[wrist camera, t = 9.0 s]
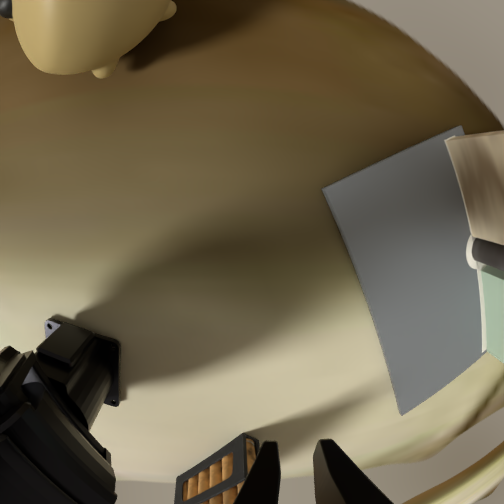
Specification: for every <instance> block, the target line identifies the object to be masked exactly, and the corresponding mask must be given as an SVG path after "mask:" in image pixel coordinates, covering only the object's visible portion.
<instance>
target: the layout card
mask: <svg viewBox="0 0 504 504" xmlns="http://www.w3.org/2000/svg"><path fill="white" fill-rule="evenodd" d="M464 135H465V134H464V131H463V129H462V126H457V127H454V128H452V129H450V130H447V131H445V132H443V133H441V134H438V135H436V136H434V137H431V138H429V139H427V140H425V141H423V142H420V143H418V144H416V145H414V146H411V147H409V148H407V149H405V150H403V151H400V152H398V153H396V154H394V155H392V156H390V157H387V158H385V159H383V160H381V161H379V162H377V163H374V164H372V165H370V166H368V167H366V168H364V169H362V170H360V171H357V172H355V173H353V174H351V175H349V176H347V177H345V178H343V179H341V180H338V181H336V182H334V183H332V184H330V185H328V186H326V187H324V188H322V191H323V194H324V196H325V198H326V200H327V203H328V205H329V207H330V209H331V212H332V214H333V216H334V219H335V221H336V223H337V226H338V228H339V231H340V233H341V235H342V238H343V240H344V243H345V245H346V248H347V250H348V253H349V255H350V258H351V260H352V263H353V266H354V268H355V271H356V274H357V276H358V279H359V282H360V284H361V287H362V290H363V293H364V296H365V298H366V301H367V304H368V307H369V310H370V313H371V316H372V319H373V322H374V325H375V328H376V331H377V334H378V337H379V341H380V344H381V347H382V350H383V354H384V357H385V360H386V364H387V367H388V371H389V374H390V378H391V382H392V385H393V389H394V393H395V397H396V401H397V405H398V409H399V413H400V414H401V416H402V415H404V414H405V413H407V412H409V411H410V410H412V409H413V408H415V407H416V406H418V405H419V404H421V403H422V402H424V401H425V400H427V399H428V398H429V397H431V396H432V395H434V394H435V393H436V392H438V391H439V390H441V389H442V388H443V387H445V386H446V385H447V384H449V383H450V382H451V381H452V380H454V379H455V378H456V377H458V376H459V375H460V374H461V373H463V372H464V371H465V370H466V369H467V368H469V367H470V366H471V365H472V364H473V363H474V362H476V361H477V360H478V359H479V358H480V357H481V356H482V355H484V354H485V353H486V352H487V341H486V316H485V302H484V292H483V283H482V275H481V270H482V269H483V268H484V267H486V266H487V265H486V264H483V263H481V262H478V261H475V260H474V259H473V257H472V245H473V242H474V240H475V239H476V237H473V236H472V231H471V226H470V221H469V217H468V212H467V208H466V204H465V200H464V196H463V193H462V189H461V186H460V182H459V179H458V175H457V172H456V169H455V166H454V163H453V160H452V157H451V154H450V151H449V148H448V145H447V143H446V141H447V140H449V139H451V138H453V137H457V136H464Z"/></svg>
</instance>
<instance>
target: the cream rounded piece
mask: <svg viewBox="0 0 504 504" xmlns="http://www.w3.org/2000/svg"><path fill="white" fill-rule="evenodd" d="M175 12H176V4H175V3H174V2H173V1H171V0H0V15H1V16H2V17H4V18H8V19H9V20H11V21H14V25H15V29H16V33H17V36H18V39H19V42H20V44H21V46H22V49H23V50H24V52H25V54H26V56H27V57H28V59H29V60H30V61H31V63H32V64H33V65H34V66H35V67H36V68H38V69H39V70H41V71H43V72H46V73H51V74H60V75H68V74H78V73H83V72H88V71H92V72H93V74H94V75H95V76H96V77H97V78H106V77H108V76H110V75H111V74H112V73H113V72H114V70H115V68H116V66H117V63H118V60H119V58H120V57H121V56H123V55H124V54H126V53H127V52H128V51H130V50H131V49H132V48H134V47H135V46H136V45H137V44H139V43H140V42H141V41H142V40H143V39H144V38H145V37H146V36H147V35H148V34H149V33H150V32H151V31H152V30H153V28H154V27H155V26H156V25H157V23H158V22H160V21H164V20H167V19H169V18H171V17H172V16H173V15H174V14H175Z"/></svg>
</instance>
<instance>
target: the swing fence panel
mask: <svg viewBox="0 0 504 504" xmlns="http://www.w3.org/2000/svg"><path fill="white" fill-rule="evenodd" d="M481 275H482V283H483V292H484V302H485V316H486V341H487V352H489V353H490V354H491V355H493V356H494V357H495V358H497V359H498V360H500V361H501V362H502V363H504V271H502V270H499V269H497V268H494V267H491V266H489V265H487V266H486V267H484V268H483V269H482V270H481Z"/></svg>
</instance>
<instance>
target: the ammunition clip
mask: <svg viewBox="0 0 504 504" xmlns="http://www.w3.org/2000/svg"><path fill="white" fill-rule="evenodd" d="M259 450H260V448H259V440H257V439H254V438H252V437H250V436H248V435H246V434H244V433H242V434H240V435H239V436H238V437H236V438H235V439H234V440H232V441H231V442H230V443H228V444H227V445H225V446H224V447H223V448H221V449H220V450H218V451H217V452H215V453H214V454H212V455H211V456H209V457H208V458H206V459H205V460H203V461H202V462H200V463H199V464H197V465H196V466H194V467H193V468H191V469H190V470H188V471H186V472H185V473H183V474H181V475H180V476H178V477H177V479H176V490H175V500H174V504H233V502H234V500H235V498H236V497H237V495H238V493H239V491H240V489H241V487H242V485H243V483H244V481H245V479H246V477H247V475H248V473H249V471H250V469H251V467H252V465H253V463H254V461H255V458H256V456H257V454H258V452H259Z"/></svg>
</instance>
